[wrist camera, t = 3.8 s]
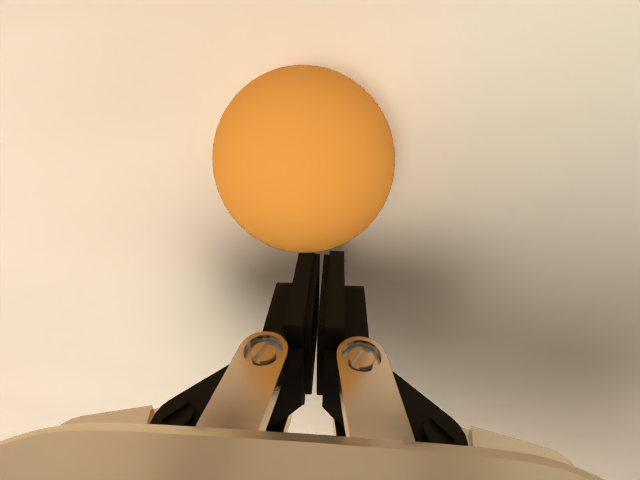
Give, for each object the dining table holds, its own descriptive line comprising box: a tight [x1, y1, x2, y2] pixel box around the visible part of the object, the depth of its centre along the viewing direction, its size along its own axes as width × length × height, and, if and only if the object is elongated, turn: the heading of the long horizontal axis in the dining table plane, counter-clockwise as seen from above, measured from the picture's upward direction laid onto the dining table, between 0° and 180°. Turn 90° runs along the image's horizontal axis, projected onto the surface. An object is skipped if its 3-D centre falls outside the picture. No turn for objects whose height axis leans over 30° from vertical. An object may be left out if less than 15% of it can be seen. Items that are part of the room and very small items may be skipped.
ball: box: [212, 65, 395, 253], centre depth 9 cm, size 5×5×5 cm
